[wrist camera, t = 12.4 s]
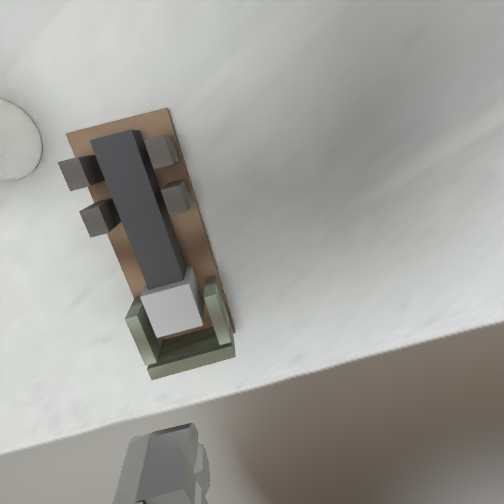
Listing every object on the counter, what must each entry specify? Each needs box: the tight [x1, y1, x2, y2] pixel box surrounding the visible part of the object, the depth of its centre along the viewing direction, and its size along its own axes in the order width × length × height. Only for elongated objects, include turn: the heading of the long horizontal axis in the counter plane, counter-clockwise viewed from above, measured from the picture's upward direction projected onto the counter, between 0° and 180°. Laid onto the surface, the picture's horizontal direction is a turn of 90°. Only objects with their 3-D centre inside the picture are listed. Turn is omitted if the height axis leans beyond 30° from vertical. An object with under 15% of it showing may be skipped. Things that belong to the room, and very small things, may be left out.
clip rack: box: [58, 108, 236, 380], centre depth 28 cm, size 21×8×5 cm, turn 14°
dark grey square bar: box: [90, 130, 204, 338], centre depth 27 cm, size 16×4×4 cm, turn 14°
